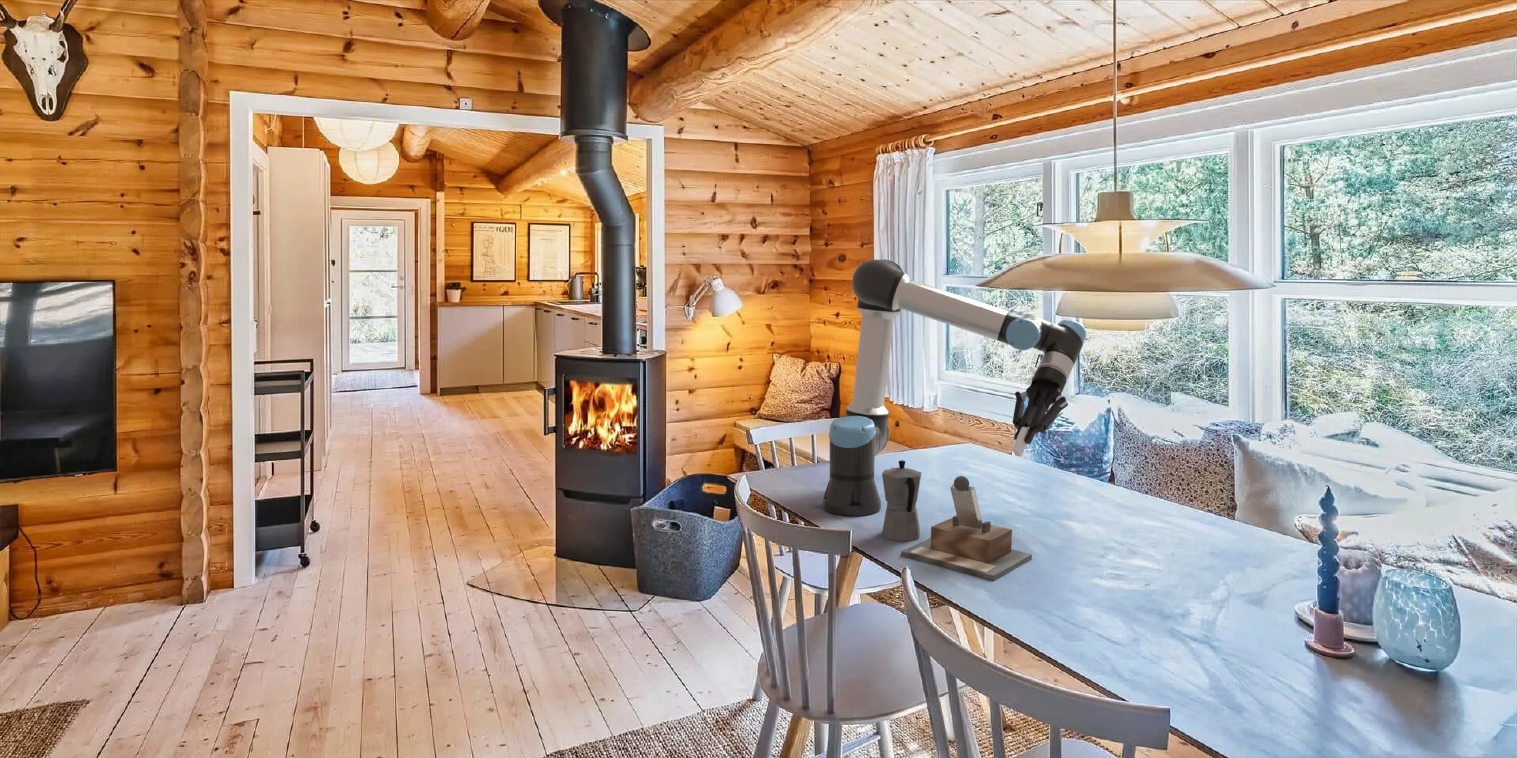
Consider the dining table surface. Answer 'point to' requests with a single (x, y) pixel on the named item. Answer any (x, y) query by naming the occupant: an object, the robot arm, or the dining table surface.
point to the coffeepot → (901, 503)
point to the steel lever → (966, 503)
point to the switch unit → (969, 549)
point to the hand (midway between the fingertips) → (1016, 452)
